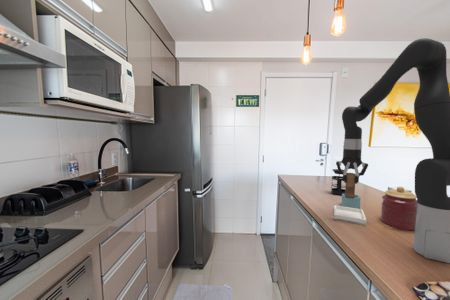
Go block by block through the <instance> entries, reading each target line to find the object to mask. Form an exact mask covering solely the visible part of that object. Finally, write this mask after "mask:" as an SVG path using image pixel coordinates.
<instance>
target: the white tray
mask: <svg viewBox="0 0 450 300" xmlns="http://www.w3.org/2000/svg"><path fill="white" fill-rule="evenodd" d="M333 220H335V221H340V222H344V223H350V224H354V225H355V224H356V225H361V226H367V223H368V222H367V217H366V215H365V212H364V209H362V208H360V209H356V208H350V207H343V206H342V205H334V206H333Z"/></svg>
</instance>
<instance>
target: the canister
mask: <svg viewBox="0 0 450 300" xmlns="http://www.w3.org/2000/svg"><path fill="white" fill-rule="evenodd" d="M397 187H398V188H397V190H396V189H390V190H388V189H387V190H385V191H384V195H381V198H382V202H381V210H380V211H381V213H380V214H381V215H380V221H381V222H383V224H386V225H388V226H389V227H390V228H394V229H398V230H402V231H415V221H416V209H417V196H416V194H415V193H413V192H408V191H404V188H405V187H403V186H397Z"/></svg>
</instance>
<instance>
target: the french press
mask: <svg viewBox="0 0 450 300" xmlns="http://www.w3.org/2000/svg"><path fill="white" fill-rule="evenodd" d="M339 161H340V160H338V162H339ZM341 171H343V172H344V169H343V168H341ZM332 172H334V174H336V175H333V176H332V175H331V180H334V181H336V183H331V189H330V190H331V192H330V194H331V195H333V196H339V197H342V194H345V186H346V184H342V183H343V182H344V181H343V174H340V173H339V171H338V168H337V169H336V168H334V169H333V168H332ZM341 175H342V176H341Z"/></svg>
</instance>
